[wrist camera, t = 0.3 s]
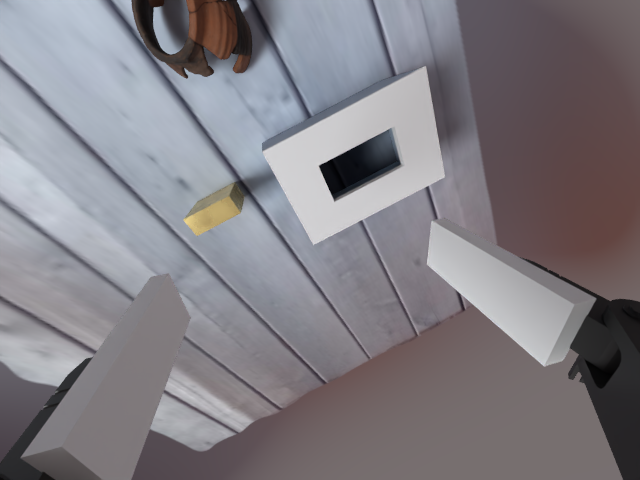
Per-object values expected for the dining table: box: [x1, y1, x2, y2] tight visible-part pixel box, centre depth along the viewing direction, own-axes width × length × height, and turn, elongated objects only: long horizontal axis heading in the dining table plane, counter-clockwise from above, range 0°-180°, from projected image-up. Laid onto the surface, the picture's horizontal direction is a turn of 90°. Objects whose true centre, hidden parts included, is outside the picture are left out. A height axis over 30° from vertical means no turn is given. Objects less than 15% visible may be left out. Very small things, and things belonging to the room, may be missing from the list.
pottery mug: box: [132, 0, 252, 79], centre depth 24 cm, size 12×10×8 cm
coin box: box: [262, 66, 445, 245], centre depth 31 cm, size 12×18×10 cm, turn 115°
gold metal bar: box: [184, 182, 244, 236], centre depth 32 cm, size 2×6×7 cm, turn 115°
